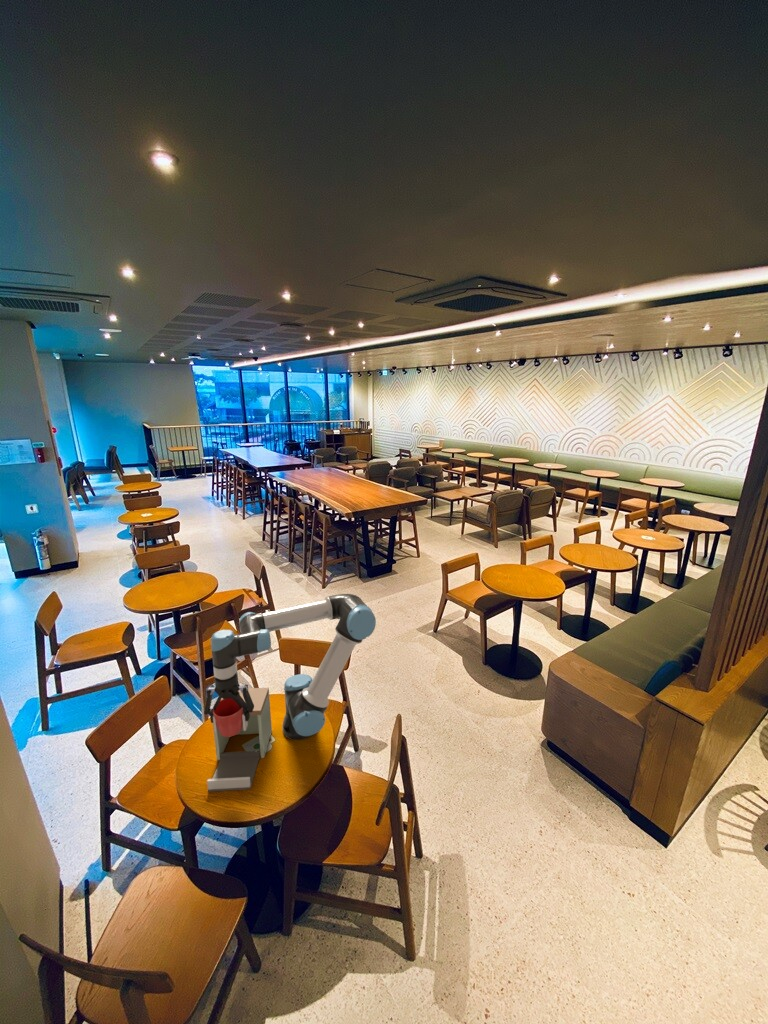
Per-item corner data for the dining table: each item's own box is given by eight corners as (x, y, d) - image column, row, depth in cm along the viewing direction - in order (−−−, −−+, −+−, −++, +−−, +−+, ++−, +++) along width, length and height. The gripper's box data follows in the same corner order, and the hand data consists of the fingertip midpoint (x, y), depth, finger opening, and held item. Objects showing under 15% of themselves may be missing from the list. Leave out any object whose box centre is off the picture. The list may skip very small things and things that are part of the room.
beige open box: (271, 730, 167) (268, 687, 163) (264, 757, 154) (260, 711, 149) (228, 732, 166) (224, 689, 162) (216, 760, 153) (211, 713, 148)
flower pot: (208, 738, 139) (205, 714, 136) (226, 716, 149) (224, 693, 147) (236, 743, 136) (233, 718, 134) (252, 720, 147) (250, 697, 145)
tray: (260, 756, 154) (259, 746, 154) (250, 789, 140) (249, 778, 139) (222, 758, 154) (221, 748, 153) (208, 791, 139) (207, 781, 138)
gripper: (260, 666, 142) (264, 719, 147) (197, 668, 141) (203, 722, 146) (255, 678, 135) (259, 734, 140) (188, 681, 134) (195, 738, 138)
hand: (231, 728), depth 143 cm, fingers closed on flower pot, 9 cm apart
